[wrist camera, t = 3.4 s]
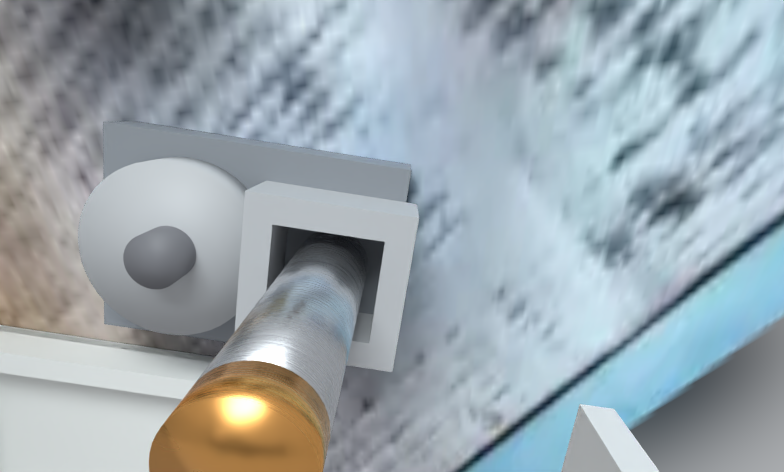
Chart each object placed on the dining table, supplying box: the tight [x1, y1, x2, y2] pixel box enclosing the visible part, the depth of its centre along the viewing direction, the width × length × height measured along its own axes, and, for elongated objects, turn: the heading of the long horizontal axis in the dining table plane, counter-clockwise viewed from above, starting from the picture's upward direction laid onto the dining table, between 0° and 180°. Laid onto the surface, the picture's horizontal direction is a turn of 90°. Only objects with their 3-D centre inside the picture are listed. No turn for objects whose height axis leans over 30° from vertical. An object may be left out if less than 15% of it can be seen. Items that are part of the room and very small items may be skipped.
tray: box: [0, 325, 215, 472], centre depth 27 cm, size 18×13×2 cm
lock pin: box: [149, 232, 368, 472], centre depth 16 cm, size 3×3×13 cm
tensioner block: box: [78, 121, 419, 372], centre depth 22 cm, size 14×10×6 cm
